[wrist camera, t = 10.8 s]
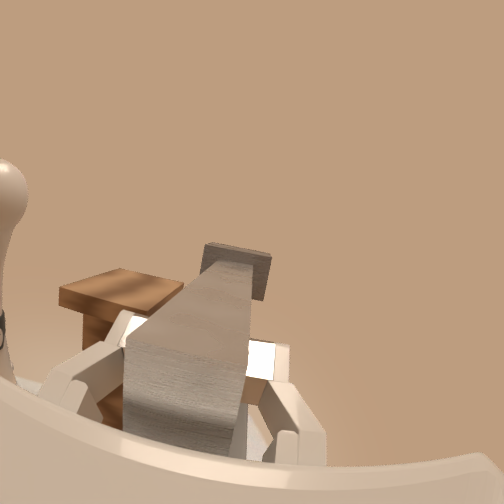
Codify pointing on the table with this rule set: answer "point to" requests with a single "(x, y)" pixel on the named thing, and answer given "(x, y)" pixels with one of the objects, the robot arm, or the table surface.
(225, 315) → the link bar
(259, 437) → the table surface
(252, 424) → the table surface
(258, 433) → the table surface
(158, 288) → the brown wooden post
